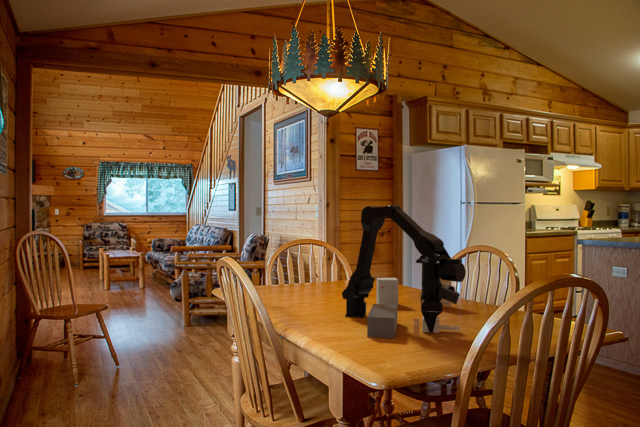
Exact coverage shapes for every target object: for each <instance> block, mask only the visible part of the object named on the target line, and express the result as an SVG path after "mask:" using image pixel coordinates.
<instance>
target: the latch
mask: <svg viewBox="0 0 640 427" xmlns="http://www.w3.org/2000/svg"><path fill="white" fill-rule="evenodd" d="M413 334H414V335H419V334H420V318H413Z"/></svg>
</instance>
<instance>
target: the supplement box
mask: <svg viewBox="0 0 640 427" xmlns="http://www.w3.org/2000/svg"><path fill="white" fill-rule="evenodd" d="M441 284H442V286H443V287H446V288H447V287H448V286H450V285H451V286H452V281H447V280H442V279H441ZM440 301H441V302H442V304H443V309H445V308H450V309H451V308H452V302H450V301H448V300H445V299H443V298H442V300H440Z"/></svg>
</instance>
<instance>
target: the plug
mask: <svg viewBox="0 0 640 427" xmlns="http://www.w3.org/2000/svg"><path fill="white" fill-rule="evenodd" d="M421 319H422V322H421V323H422V324H421V326H422V327H421V329H422V333H430V332H429V330H428V327H427V325H426V322H425V320H424V317H423V315H422V317H421ZM440 330H442V331H443V330H445V331H447V330H448V331H460V326H459V325H457V326H456V325H441V324H440V316H437V318H436V322H435V326H434V331H433V333H436V334H437V333H440Z"/></svg>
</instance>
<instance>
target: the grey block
mask: <svg viewBox="0 0 640 427" xmlns="http://www.w3.org/2000/svg"><path fill="white" fill-rule="evenodd" d="M398 312H399V311H398V306H397V305H387V304H377V303H373V304H372V306H371V308H370V309H369V313H368V315H367V317H366V318H367V322H366V323H367V326H366V329H367V330H366V331H367V332H366V334H367V335H366V338H375V339H377V338H378V339H379V338H380V339H395V338H396V332H397V326H398V316H399V314H398Z"/></svg>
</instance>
